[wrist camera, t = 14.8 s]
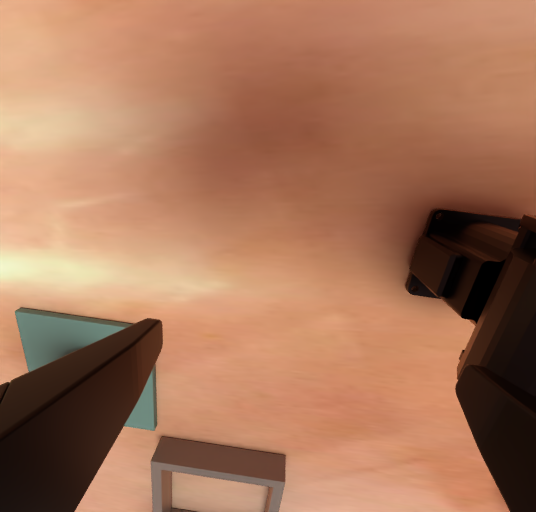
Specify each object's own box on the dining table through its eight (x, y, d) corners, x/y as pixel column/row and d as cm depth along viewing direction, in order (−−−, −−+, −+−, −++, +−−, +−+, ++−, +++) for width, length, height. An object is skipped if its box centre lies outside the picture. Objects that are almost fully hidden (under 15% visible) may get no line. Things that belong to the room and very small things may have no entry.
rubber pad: (154, 327, 24) (151, 331, 24) (156, 425, 28) (154, 430, 28) (21, 307, 24) (14, 311, 24) (43, 407, 29) (38, 412, 28)
